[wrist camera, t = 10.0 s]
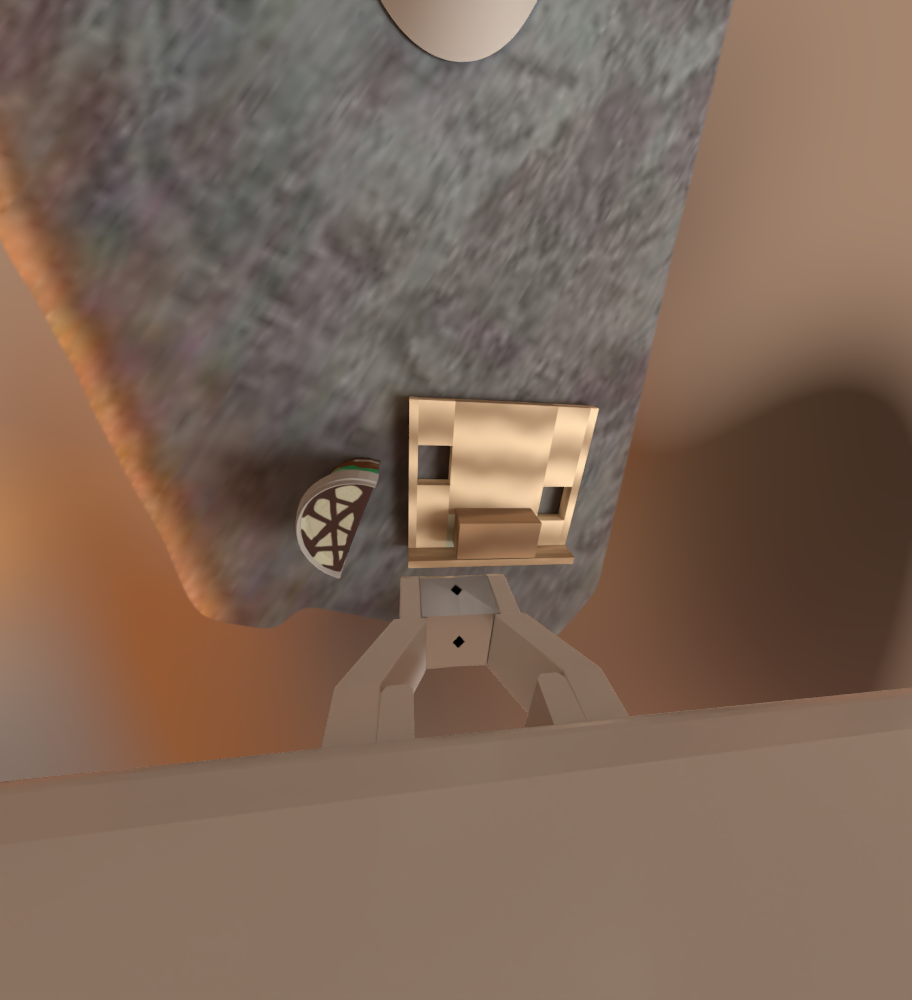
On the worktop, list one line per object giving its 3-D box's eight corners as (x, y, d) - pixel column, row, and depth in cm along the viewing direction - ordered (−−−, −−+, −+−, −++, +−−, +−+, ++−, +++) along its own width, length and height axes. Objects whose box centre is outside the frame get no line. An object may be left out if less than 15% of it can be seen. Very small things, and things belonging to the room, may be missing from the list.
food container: (332, 430, 37) (309, 457, 28) (384, 450, 39) (377, 482, 30) (304, 518, 42) (276, 566, 33) (352, 532, 43) (338, 582, 34)
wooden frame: (409, 396, 37) (409, 404, 32) (590, 405, 40) (613, 413, 36) (408, 545, 45) (408, 568, 41) (557, 543, 49) (572, 563, 44)
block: (455, 508, 41) (460, 523, 38) (530, 508, 43) (541, 523, 39) (452, 541, 44) (457, 559, 40) (524, 540, 45) (534, 557, 42)
